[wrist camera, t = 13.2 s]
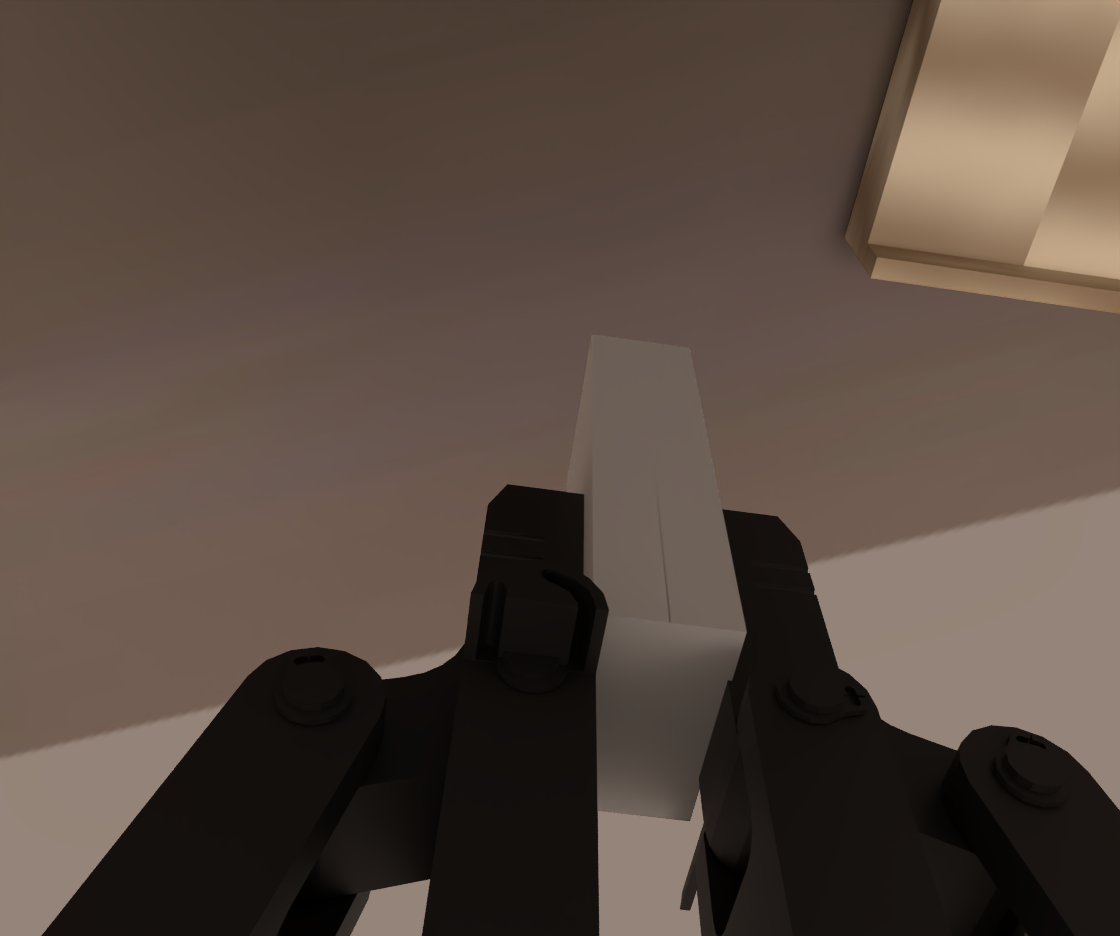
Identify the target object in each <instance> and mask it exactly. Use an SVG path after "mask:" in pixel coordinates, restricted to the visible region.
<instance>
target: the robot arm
mask: <svg viewBox="0 0 1120 936" xmlns="http://www.w3.org/2000/svg"><path fill="white" fill-rule="evenodd" d="M814 590H815V589H814V586H813V582H812V579H811V576H810V573H808V566H807V562H806V559H805V556H804V552H803V549H802V546H801V543H800V541H799V540H798V539H797V537H796V536H795V535H794V534H793V533H792V532H791V531H790V530H789V529H788V527H787V526H786V525H785V524H784V523H783V522H782V521H781V520H780V519H779V518H778V516H770V515H762V514H755V513H747V512H739V511H731V510H724V509H722V506H721V501H720V496H719V491H718V486H717V481H716V476H715V471H714V466H713V461H712V456H711V451H710V446H709V441H708V436H707V431H706V426H705V421H704V416H703V411H702V406H701V401H700V396H699V391H698V386H697V381H696V376H695V371H694V366H693V361H692V356H691V351H690V348H688V347H681V346H674V345H666V344H659V343H652V342H644V341H637V340H630V339H623V338H615V337H608V336H601V335H593V334H592V335H591V341H590V347H589V353H588V359H587V365H586V371H585V377H584V383H583V389H582V395H581V401H580V407H579V413H578V419H577V425H576V431H575V437H574V443H573V449H572V455H571V461H570V467H569V473H568V479H567V485H566V492H563V491H555V490H547V489H540V488H532V487H524V486H517V485H509V484H507V485H506V486H505V488H504V489H503V490H502V491H501V492H500V493H499V494H498V495H497V496H496V497H495V498H494V499H493V500H492V501H491V502H490V503H489V504H488V508H487V515H486V522H485V528H484V535H483V541H482V548H481V555H480V561H479V568H478V574H477V581H476V584H475V586H474V588H473V590H472V592H471V597H470V606H469V614H468V623H467V631H466V640H465V644H464V645H463V646H462V648H461V649H460V650H459V651H458V653H457V654H456V655H455V656H454V657H453V658H451V659H450V660H448V661H447V662H446V663H444V664H443V665H441V666H439V667H437V668H434V669H432V670H430V671H427V672H425V673H421V674H416V675H412V676H407V677H400V678H393V679H384V680H382V679H381V677H380V676H379V675H378V673H377V672H376V671H375V670H374V669H373V668H372V667H371V666H370V665H369V664H368V663H367V662H366V661H364V660H362V659H360V658H358V657H356V656H354V655H352V654H349V653H347V652H345V651H340V650H334V649H327V648H320V647H315V648H307V649H298V650H290V651H288V652H285V653H283V654H281V655H278V656H276V657H273V658H271V659H268V660H266V661H265V662H264V663H262V664H261V665H260V666H259V667H258V668H257V669H255V670H254V671H253V672H252V673H251V674H250V675H248V676H247V678H246V679H245V680H244V681H243V683H242V684H241V685H240V686H239V688H238V689H237V690H236V692H235V693H234V694H233V695H232V697H231V698H230V699H229V700H228V702H227V703H226V704H225V705H224V707H223V708H222V709H221V710H220V712H219V713H218V714H217V715H216V717H215V718H214V719H213V721H212V722H211V723H210V724H209V726H208V727H207V728H206V729H205V731H204V732H203V733H202V734H201V736H200V737H199V738H198V739H197V741H196V742H195V743H194V744H193V746H192V747H191V748H190V749H189V751H188V752H187V753H186V754H185V756H184V757H183V758H182V760H181V761H180V762H179V763H178V765H177V766H176V767H175V768H174V770H173V771H172V772H171V773H170V775H169V776H168V777H167V779H166V780H165V781H164V782H163V784H162V785H161V786H160V787H159V788H158V790H157V791H156V792H155V794H154V795H153V796H152V797H151V799H150V800H149V801H148V802H147V804H146V805H145V806H144V807H143V809H142V810H141V811H140V812H139V814H138V815H137V816H136V817H135V819H134V820H133V821H132V822H131V824H130V825H129V826H128V828H127V829H126V830H125V831H124V833H123V834H122V835H121V836H120V838H119V839H118V840H117V842H116V843H115V844H114V845H113V846H112V848H111V849H110V850H109V851H108V853H107V854H106V855H105V856H104V858H103V859H102V860H101V862H100V863H99V864H98V865H97V867H96V868H95V869H94V870H93V872H92V873H91V874H90V875H89V877H88V878H87V879H86V880H85V882H84V883H83V884H82V885H81V887H80V888H79V889H78V890H77V892H76V893H75V894H74V896H73V897H72V898H71V899H70V901H69V902H68V903H67V904H66V906H65V907H64V908H63V909H62V911H61V912H60V913H59V915H58V916H57V917H56V918H55V920H54V921H53V922H52V923H51V925H50V926H49V927H48V928H47V930H46V931H45V932H44V933H43V935H42V936H350V935H351V933H352V931H353V929H354V927H355V925H356V923H357V921H358V919H359V917H360V915H361V913H362V911H363V908H364V907H365V904H366V903H367V901H368V898H369V894H370V891H371V890H376V889H381V888H387V887H392V886H397V885H402V884H407V883H412V882H418V881H422V880H428V879H430V885H429V892H428V898H427V906H426V912H425V919H424V925H423V933H422V936H599V891H598V890H599V886H598V812H597V811H605V812H613V813H622V814H631V815H640V816H648V817H657V818H666V819H675V820H684V821H690V819H691V816H692V813H693V809H694V806H695V802H696V799H697V796H698V792H699V789H700V794H701V803H702V811H703V820H704V824H703V827H702V831H701V833H700V837H699V840H698V843H697V846H696V850H695V853H694V856H693V859H692V862H691V866H690V869H689V872H688V875H687V878H686V882H685V885H684V888H683V892H682V899H681V906H680V909H681V910H690V909H691V906H692V903H693V900H694V897H695V894H696V891H697V895H698V905H699V915H700V926H701V935H702V936H1120V810H1119V809H1118V808H1117V807H1116V805H1115V804H1114V803H1113V802H1112V801H1111V799H1110V798H1109V797H1108V796H1107V794H1106V793H1105V792H1104V791H1103V789H1102V788H1101V787H1100V786H1099V784H1098V783H1097V782H1096V781H1095V780H1094V778H1093V777H1092V776H1091V775H1090V773H1089V772H1088V771H1087V770H1086V769H1085V768H1084V767H1083V766H1082V765H1080V763H1078V762H1077V761H1076V760H1075V759H1074V758H1073V757H1072V756H1071V755H1070V754H1069V753H1068V752H1067V751H1065V750H1063V749H1062V748H1060V747H1058V746H1057V745H1055V744H1053V743H1052V742H1050V741H1048V740H1047V739H1045V738H1044V737H1041V736H1039V735H1036V734H1033V733H1030V732H1027V731H1024V730H1021V729H1019V728H1015V727H1003V726H992V725H991V726H987V727H984V728H980V729H976V730H973V731H972V732H971V733H970V734H969V735H968V736H967V737H966V738H965V739H964V740H963V741H962V742H961V744H960V746H959V749H958V750H957V751H956V750H953V749H951V748H948V747H945V746H943V745H939V744H937V743H934V742H931V741H928V740H926V739H923V738H920V737H917V736H915V735H912V734H909V733H907V732H905V731H903V730H900V729H898V728H896V727H894V726H891V725H889V724H888V723H886V722H885V721H883V720H881V718H880V715H879V712H878V709H877V707H876V705H875V703H874V702H873V700H872V698H871V696H870V695H869V693H868V691H867V690H866V689H865V688H864V687H863V686H862V685H861V684H860V683H859V682H857V681H856V680H855V679H854V678H853V677H852V676H851V675H850V674H848V673H846V672H844V671H842V670H841V669H839V668H838V665H837V662H836V658H835V655H834V652H833V648H832V645H831V642H830V639H829V635H828V632H827V629H826V625H825V622H824V619H823V615H822V612H821V609H820V605H819V602H818V599H817V596H816V595H814Z"/></svg>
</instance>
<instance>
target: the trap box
mask: <svg viewBox="0 0 1120 936" xmlns="http://www.w3.org/2000/svg"><path fill="white" fill-rule="evenodd" d="M845 239H846V241H847V242H848V244H849V245H850V247H851V248H852V250H853V252H854V253H855V255H856V256H857V258H858V259H859V261H860V262H861V264H862V265H863V267H864V269H865V270H866V272H867V273H868V275H869V276H870V278H873V279H880V280H887V281H895V282H902V283H909V284H916V285H923V286H930V287H937V288H944V289H951V290H958V291H965V292H972V293H979V294H986V295H993V296H1000V297H1007V298H1014V299H1021V300H1028V301H1036V302H1043V303H1050V304H1057V305H1064V306H1071V307H1078V308H1085V309H1092V310H1099V311H1106V312H1113V313H1120V0H913V3H912V7H911V10H910V14H909V17H908V21H907V24H906V28H905V31H904V34H903V38H902V41H901V45H900V48H899V52H898V55H897V59H896V62H895V65H894V69H893V72H892V76H891V79H890V83H889V86H888V90H887V93H886V96H885V100H884V103H883V107H882V110H881V114H880V117H879V121H878V124H877V128H876V131H875V134H874V138H873V141H872V145H871V148H870V152H869V155H868V159H867V162H866V165H865V169H864V172H863V176H862V179H861V183H860V186H859V190H858V193H857V197H856V200H855V203H854V207H853V210H852V214H851V217H850V221H849V224H848V228H847V231H846V234H845Z"/></svg>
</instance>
